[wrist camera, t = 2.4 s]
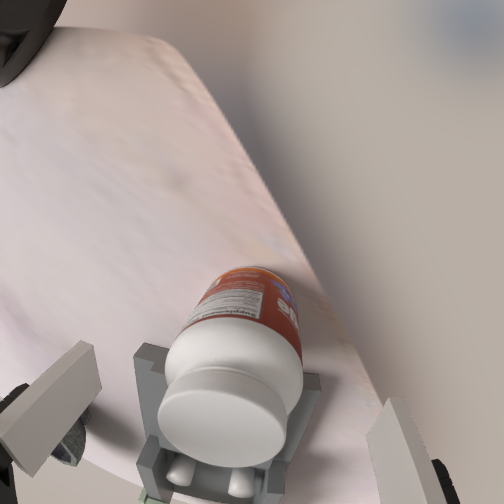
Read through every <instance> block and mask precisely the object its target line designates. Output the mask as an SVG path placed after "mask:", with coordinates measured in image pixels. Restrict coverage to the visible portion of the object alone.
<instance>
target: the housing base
mask: <svg viewBox="0 0 504 504" xmlns="http://www.w3.org/2000/svg"><path fill="white" fill-rule="evenodd" d="M169 350H170V349H166V348H162V347H158V346H154V345H150V344H147V343H143V344H142V345H141V347H140V348H139V349H138V351H137V352H136V353H135V354H134V356H133V359H134V367H135V375H136V382H137V389H138V396H139V402H140V408H141V413H142V418H143V424H144V429H145V433H146V438H147V442H146V444H145V446H144V448H143V450H142V452H141V454H140V456H139V458H138V460H137V462H136V466H137V468H138V471H139V474H140V477H141V479H142V482H143V484H144V487H145V489H146V492H147V494H148V497H149V498H150V499H153V500H156V501H160V502H163V503H166V504H170V501H171V498H172V495H173V492H177V493H181V494H184V495H188V496H193V497H197V498H201V499H206V500H211V501H216V502H222V503H228V504H278V503H279V502H280V500H281V499H282V497H283V496H284V490H285V471H286V469H287V467H288V465H289V463H290V461H291V459H292V457H293V455H294V453H295V451H296V449H297V447H298V445H299V442H300V440H301V438H302V436H303V434H304V431H305V429H306V427H307V425H308V422H309V420H310V418H311V415H312V413H313V410H314V408H315V406H316V403H317V401H318V398H319V396H320V393H321V387H320V380H319V374H308V373H303V389H302V393H301V396H300V398H299V400H298V402H297V404H296V406H295V407H294V409H293V410H292V411H291V412H290V413H289V414H288V415H287V428H286V440H285V443H284V446H283V448H282V449H281V451H280V452H279V453H278V454H277V455H275V456H274V457H273V458H271V459H270V460H268V461H266V462H263V463H260V464H257V465H253V466H248V467H222V466H216V465H211V464H208V463H204V462H201V461H199V460H196V459H194V458H192V457H190V456H188V455H186V454H184V453H183V452H181V451H180V450H178V449H177V448H176V447H174V446H173V445H172V444H171V443H170V442H169V441H168V440H167V439H166V437H165V436H164V435H163V433H162V431H161V430H160V427H159V424H158V410H159V407H160V405H161V403H162V400H163V398H164V396H165V394H166V391H167V389H168V385H167V382H166V377H165V362H166V358H167V354H168V352H169Z"/></svg>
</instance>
